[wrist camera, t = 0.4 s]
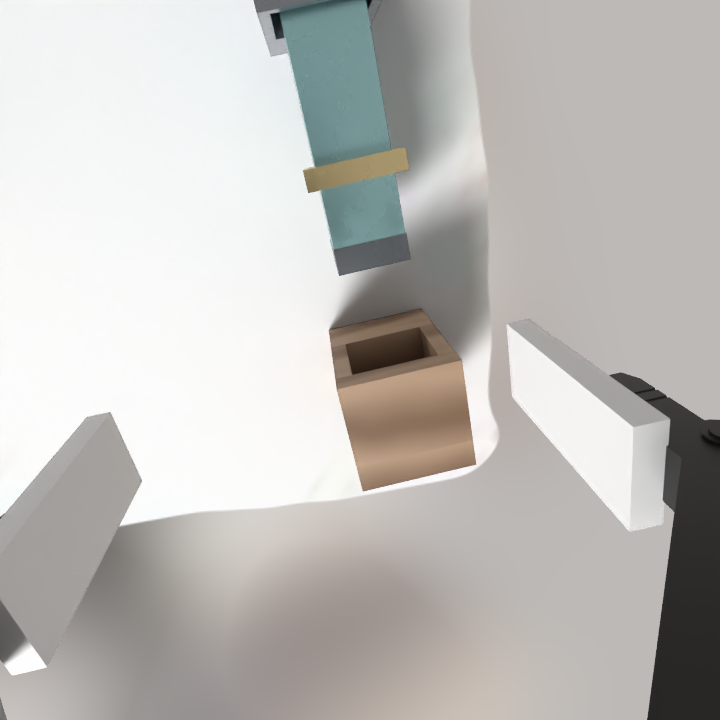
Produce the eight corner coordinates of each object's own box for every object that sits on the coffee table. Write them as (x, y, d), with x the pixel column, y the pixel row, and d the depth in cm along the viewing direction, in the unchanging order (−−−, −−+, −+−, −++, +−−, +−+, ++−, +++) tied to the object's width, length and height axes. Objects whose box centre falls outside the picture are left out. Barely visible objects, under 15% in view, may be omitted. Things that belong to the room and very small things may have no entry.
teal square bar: (190, -306, 23) (156, -445, 18) (307, -331, 23) (307, -476, 18) (325, 262, 34) (329, 280, 29) (405, 243, 34) (423, 258, 29)
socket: (328, 330, 41) (336, 389, 30) (421, 308, 41) (461, 360, 30) (349, 411, 44) (362, 491, 33) (435, 391, 44) (476, 464, 33)
